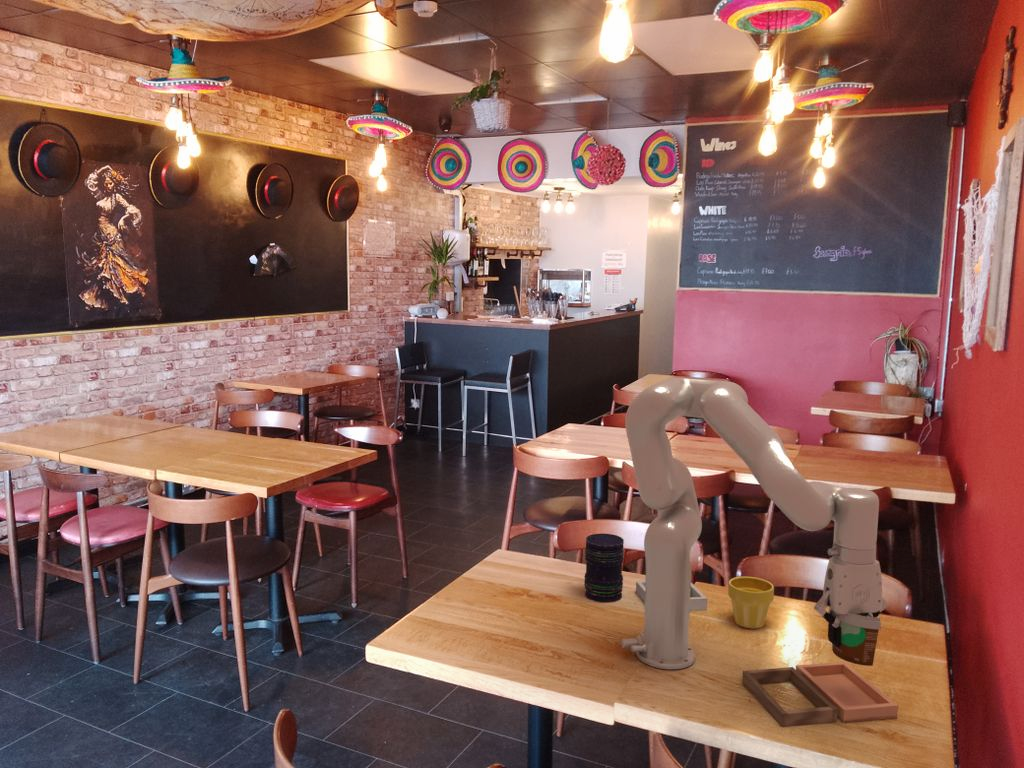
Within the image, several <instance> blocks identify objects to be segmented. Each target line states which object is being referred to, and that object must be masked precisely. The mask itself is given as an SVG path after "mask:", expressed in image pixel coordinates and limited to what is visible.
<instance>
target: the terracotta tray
mask: <svg viewBox="0 0 1024 768" xmlns="http://www.w3.org/2000/svg"><path fill="white" fill-rule="evenodd" d="M795 670H797V671H798V672H799V673H800V674H801V675H802V676H803V677H804V678H805V679H806V680H807V681H808V682H809V683H810V684H812V685H813V686H814V687H815V688H816V689H817V690H818V691H819V692H820V693H821V694H822V695H823V696H824V697H825V698H826V699H828V700H829V701H830V702H831V703H832V704H833V705H834V706H835V707H836V708H837V709H838V714H837V719H839V720H840V721H841V722H842V723H843V724H845V723H857V722H866V721H878V720H890V719H897V718H898V711H899V710H898V708H899V705H898V704H897V703H896V702H895V701H894V700H892V699H891V698H890V697H889V696H887V695H886V694H885V693H884V692H882V691H881V690H880V689H879V688H877V687H876V686H875V685H874V684H873V683H871V681H869V680H868V679H866V678H865V677H864V676H863V675H862V674H860V673H859V672H858V671H857V670H856V669H854V668H853V667H852V666H851V665H849V664H848V663H847V661H839V662H837V661H836V662H824V663H812V664H799V665H795Z"/></svg>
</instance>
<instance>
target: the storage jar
mask: <svg viewBox="0 0 1024 768" xmlns="http://www.w3.org/2000/svg"><path fill="white" fill-rule="evenodd" d="M624 541H625V540H624V538H623V537H622V536H619V535H617V534H611V533H593V534H590V535H587V536H586V538H585V548H584V549H585V550H584V553H585V555H584V558H585V562H586V563H585V565H586V566H585V573H584V584H583V585H584V596H585V597H586V599H588V600H590V601H592V602H596V603H601V604H602V603H604V604H605V603H606V604H608V603H615V602H618V601H620V600H622V598H623V593H622V592H623V588H624V581H623V580H624V575H623V563H624V556H625V555H624V553H625V551H624V550H625V549H624V543H625V542H624Z"/></svg>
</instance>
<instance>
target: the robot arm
mask: <svg viewBox="0 0 1024 768" xmlns="http://www.w3.org/2000/svg"><path fill="white" fill-rule="evenodd" d="M748 403H749V398H748V395H747V393H746V391H745V389H744V388H743V387H742V386H741V385H739V384H737V383H735V382H732V381H727V380H715V379H714V380H712V379H702V378H689V377H669V378H667V379H663V380H661V381H658V382H655V383H653V384H651V385H650V386H649V385H648V387H646V388H644V389H643V390H642V391H641V392H639V394H636V396H635V397H634V398H633V399H632V401H631V402H630V403H629V405H628V408H627V410H626V413H625V414H626V415H625V420H624V421H625V423H624V424H625V432H626V437H627V441H628V445H629V446H628V447H629V449H630V450H629V451H630V456H631V461H632V466H633V470H634V476H635V478H636V479H635V480H636V485H637V489H638V495H639V496H640V500H641V501H642V503H643V504H644V505H645V506H647V508H650V509H652V510H655V511H656V512H657V516H656V517H654V519H653V520H652V521H651V523H649V525H648V527H647V529H646V531H645V535H644V541H643V547H644V558H645V580H644V581H645V586H646V588H645V603H644V622H643V631H639V636H636V637H635V638H621V647H622V648H623V649H630V651H631V652H632V653H635V655H636V657H637V658H638V659H639V660H640V661H641V662H642V663H644V664H645V665H648V666H650V667H653V668H656V669H661V670H662V669H663V670H681V669H685V668H688V667H690V666H691V665H693V664H694V663H695V659H696V653H695V650H694V648H692V647H691V646H690V645H689V634H690V633H689V632H690V612H691V611H690V598H691V597H690V592H691V583H692V582H691V581H692V568H691V566H692V565H691V550H692V548H693V546H694V544H695V543H697V540H698V539H699V538H700V536H701V533H702V528H703V525H702V524H703V523H702V516H701V512H700V507H699V502H698V498H697V494H696V490H695V489H696V488H695V484H694V481H693V476H692V473H691V472H690V469H689V468H688V465H686V464H685V463H684V462H683V461H681V460H680V459H679V458H675V457H673V451H672V444H671V442H670V439H669V437H668V434H667V431H666V425H667V424H669V423H670V422H672V421H674V420H676V419H679V417H680V418H681V417H689V418H691V417H692V418H700V419H703V420H704V421H705V422H706V423H707V424H708V426H710V428H711V429H712V430H713V431H714V432H715V433H716V434H717V435H718V436H719V438H720V439H722V441H723V442H724V443H726V445H727V446H729V448H730V449H731V450H733V452H735V454H736V455H737V456H738V457H739V458H740V459H741V460H742V461H743V463H745V465H746V466H747V468H748V469H749V471H750V472H751V474H752V476H753V477H754V478H755V480H756V481H757V482H758V485H760V487H761V489H762V490H763V491H764V493H765V494H766V495H767V497H768V498H769V499H770V500H771V501H772V502H773V504H775V505H776V507H777V508H779V510H780V511H781V512H782V513H783V514H784V515H785V517H787V518H788V519H789V520H790V521H791V522H792V523H793V524H794V525H796V526H797V527H798V528H800V529H803V530H805V531H809V532H815V531H816V532H817V531H820V530H822V529H824V528H826V527H827V526H828V525H829V524H830V523H831V521H833V522H834V524H833V525H834V526H833V527H834V528H833V543H832V547H831V548H828V549H827V555H828V557H829V556H832V557H829V560H828V562H827V563H828V564H827V566H826V571H825V576H824V581H823V582H824V583H823V590H822V595H821V597H820V599H819V600H818V601H817V602H816V603H815V604H814V606H813V610H814V611H816V612H817V613H818V614H819V615H820V616H821V617H822V618H823V619H824V620H825V621H826V622H827V623H828V625H827V639H828V642H830V643H831V645H832V644H833V645H835V646H836V647H840V646H841V627H839V624H840V622H841V620H839V619H838V617H839V615H847V614H848V612H850V613H853V614H866V613H868V614H869V615H870V616H872V617H875V618H878V617H879V616H880V613H882V611H884V610H885V609H886V608H887V607H888V603H887V602H886V601H885V599H884V598H883V580H882V579H883V578H882V572H881V571H882V570H881V565H880V561H879V560H877V559H876V555H877V553H876V552H877V543H878V542H877V539H878V527H879V526H878V524H879V512H880V511H879V510H880V509H879V508H880V499H879V496H878V494H876V492H874V491H872V490H870V489H866V488H860V487H843V486H838V485H834V484H830V483H826V482H822V481H809V482H808V481H807V479H805V477H803V475H801V473H800V472H799V471H798V469H796V467H795V466H794V464H793V463H792V461H791V460H790V458H789V455H788V454H787V452H786V448H785V446H784V443H783V441H782V439H781V437H780V435H779V434H778V433H777V432H776V431H775V430H774V428H772V427H771V426H770V425H769V424H768V423H767V422H766V421H765V420H764V419H763V418H762V417H761V415H759V414H758V412H756V411H755V410H754V409H753V408H752V407H751V405H750V404H748ZM827 607H828V611H827V610H826V608H827ZM829 607H830V608H829ZM832 611H834V612H835V613H836V614H835V617H834V616H833V615H832Z"/></svg>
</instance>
